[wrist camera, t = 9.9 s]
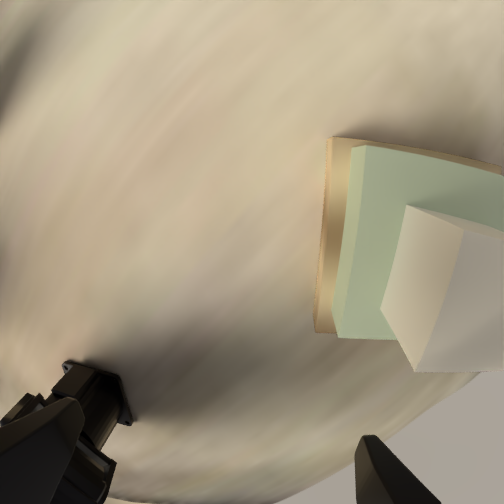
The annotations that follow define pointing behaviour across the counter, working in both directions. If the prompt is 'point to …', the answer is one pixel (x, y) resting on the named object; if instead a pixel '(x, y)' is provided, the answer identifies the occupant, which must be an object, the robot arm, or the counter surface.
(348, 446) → the counter surface
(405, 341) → the cube
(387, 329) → the tower top
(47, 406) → the robot arm
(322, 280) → the tower base
